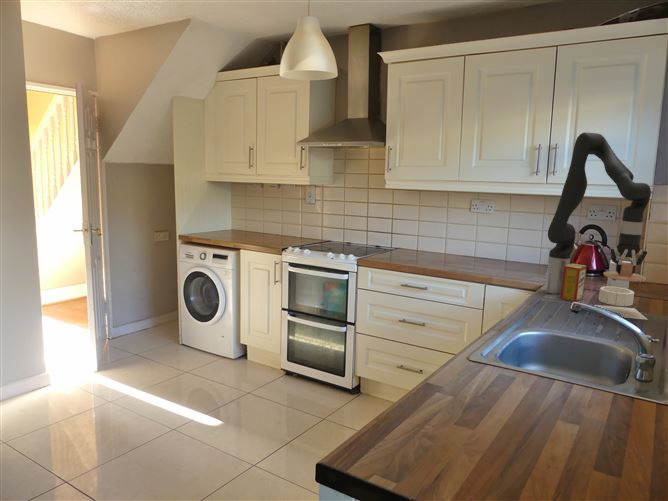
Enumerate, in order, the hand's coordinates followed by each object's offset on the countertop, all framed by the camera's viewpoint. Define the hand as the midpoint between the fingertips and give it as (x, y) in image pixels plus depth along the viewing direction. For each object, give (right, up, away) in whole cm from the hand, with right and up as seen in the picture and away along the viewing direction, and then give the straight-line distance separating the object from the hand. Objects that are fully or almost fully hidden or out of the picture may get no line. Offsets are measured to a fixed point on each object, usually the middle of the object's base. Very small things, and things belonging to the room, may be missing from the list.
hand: (624, 273), depth 205 cm
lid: (0, -1, 0) cm, 1 cm away
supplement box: (+19, -11, +39) cm, 45 cm away
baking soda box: (-11, -13, +23) cm, 28 cm away
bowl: (+6, -14, +18) cm, 24 cm away
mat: (0, -17, +3) cm, 17 cm away
